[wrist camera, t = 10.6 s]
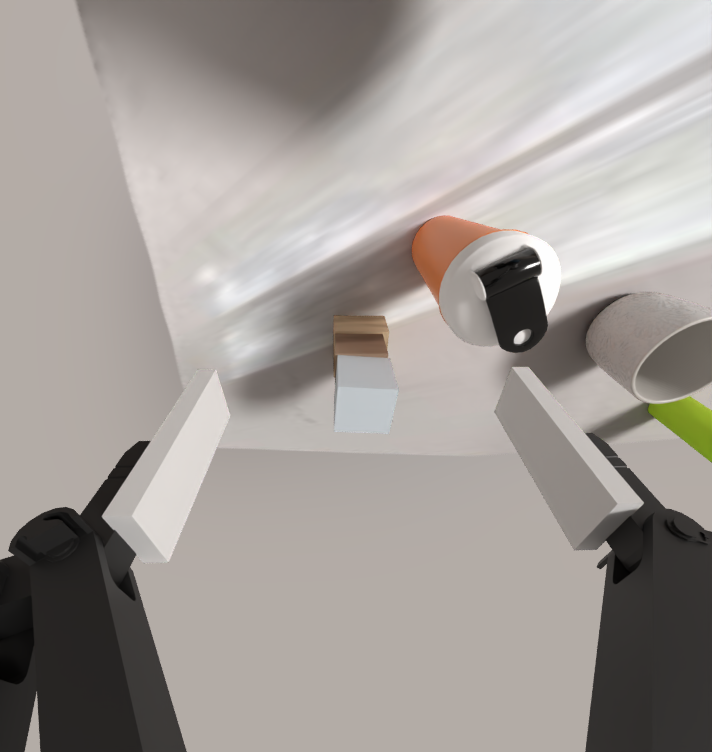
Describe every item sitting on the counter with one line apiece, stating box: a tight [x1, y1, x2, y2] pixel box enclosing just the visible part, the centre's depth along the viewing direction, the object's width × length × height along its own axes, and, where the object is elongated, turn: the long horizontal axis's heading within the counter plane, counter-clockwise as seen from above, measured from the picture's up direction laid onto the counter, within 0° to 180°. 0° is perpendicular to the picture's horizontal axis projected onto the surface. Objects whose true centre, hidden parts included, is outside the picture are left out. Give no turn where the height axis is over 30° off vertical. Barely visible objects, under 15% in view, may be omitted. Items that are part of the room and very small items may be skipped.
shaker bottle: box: [412, 216, 561, 353], centre depth 30 cm, size 9×9×20 cm
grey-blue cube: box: [334, 355, 399, 434], centre depth 34 cm, size 6×6×6 cm
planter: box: [586, 292, 712, 404], centre depth 41 cm, size 12×12×11 cm
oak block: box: [333, 315, 389, 377], centre depth 43 cm, size 7×7×5 cm
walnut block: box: [335, 333, 388, 382], centre depth 38 cm, size 6×6×5 cm
